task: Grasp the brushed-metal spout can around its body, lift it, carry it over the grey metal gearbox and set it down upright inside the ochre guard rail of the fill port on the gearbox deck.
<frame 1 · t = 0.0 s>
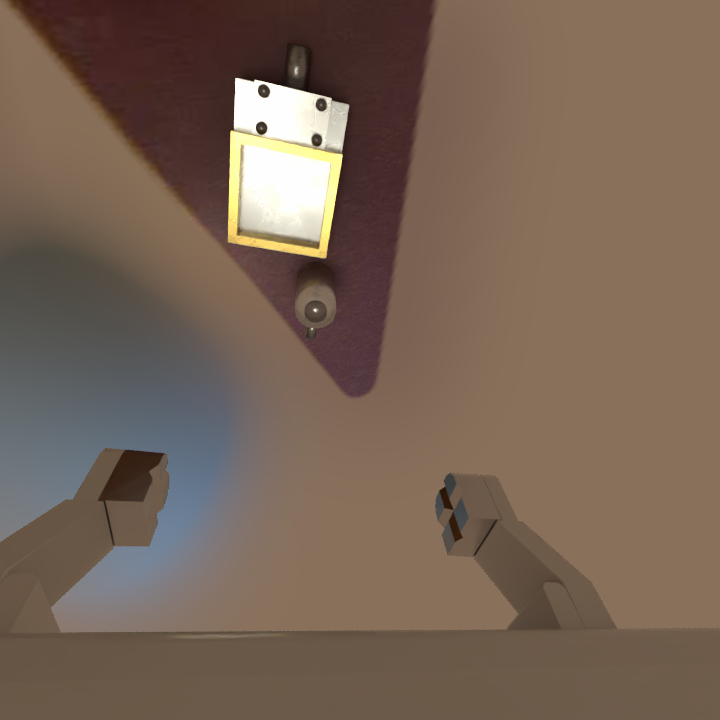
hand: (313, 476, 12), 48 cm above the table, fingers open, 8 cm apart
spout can: (315, 279, 59), on the table
gearbox: (287, 173, 51), on the table
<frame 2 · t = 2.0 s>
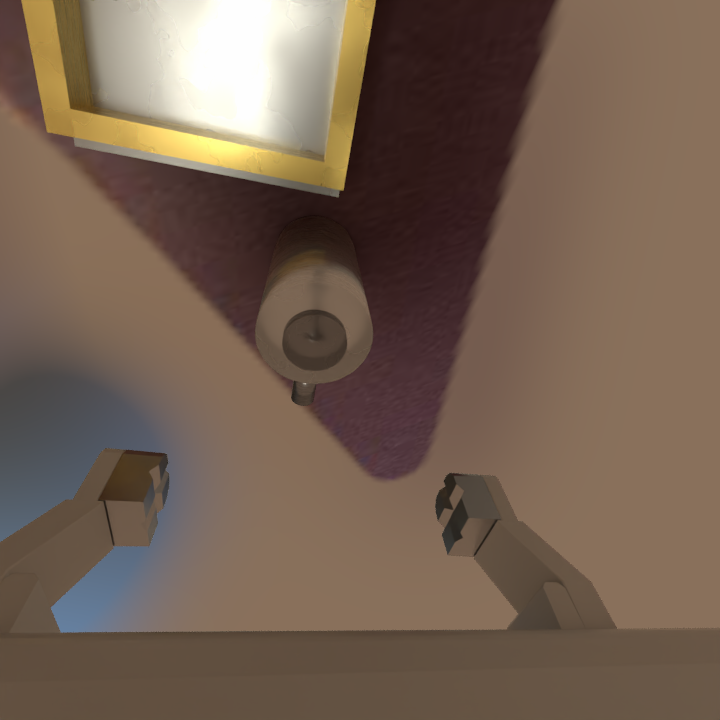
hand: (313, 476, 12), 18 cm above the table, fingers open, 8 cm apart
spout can: (315, 256, 26), on the table
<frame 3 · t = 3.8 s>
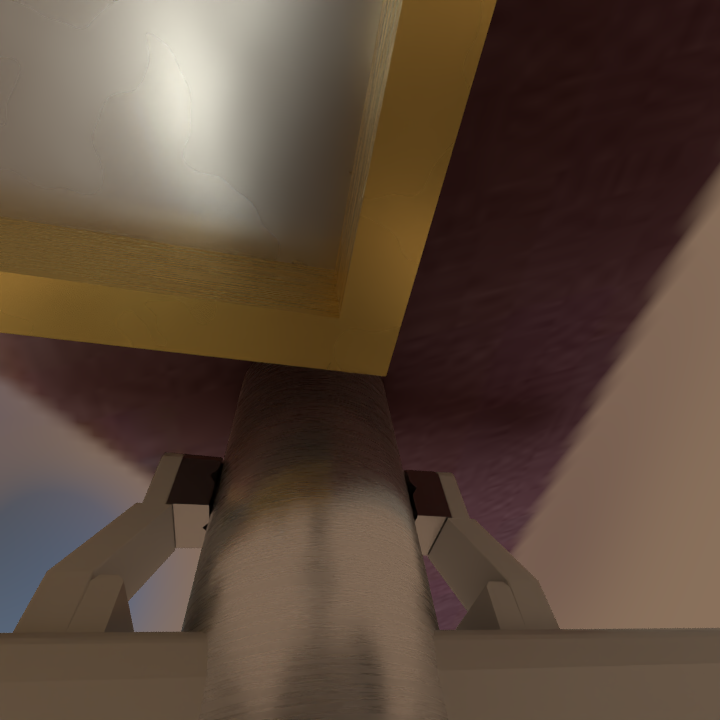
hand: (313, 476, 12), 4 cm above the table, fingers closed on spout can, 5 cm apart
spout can: (314, 398, 15), on the table, touching gripper
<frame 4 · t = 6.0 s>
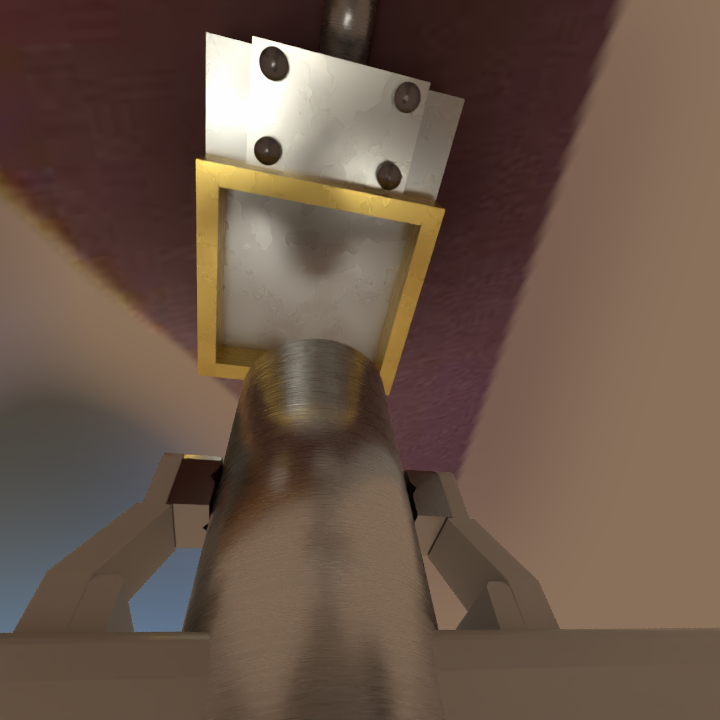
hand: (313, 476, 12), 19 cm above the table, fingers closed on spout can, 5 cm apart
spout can: (314, 399, 15), point 15 cm above the table, touching gripper
gearbox: (315, 232, 26), on the table
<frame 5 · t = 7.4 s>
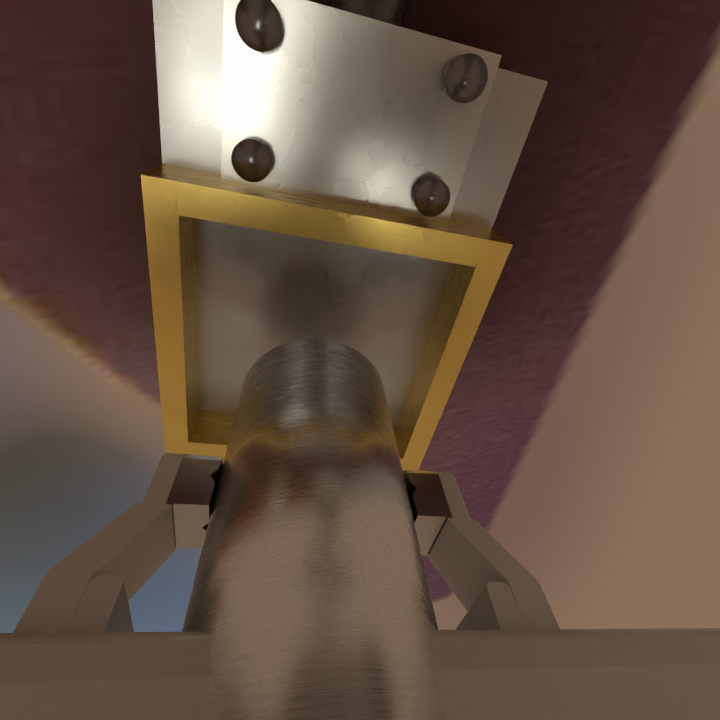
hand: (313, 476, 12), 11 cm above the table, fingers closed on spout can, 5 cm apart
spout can: (314, 399, 15), point 8 cm above the table, touching gripper
gearbox: (322, 261, 20), on the table
when the fingers open (9 cm above the table, at t = 8.4 s): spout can drops 1 cm, resting on gearbox.
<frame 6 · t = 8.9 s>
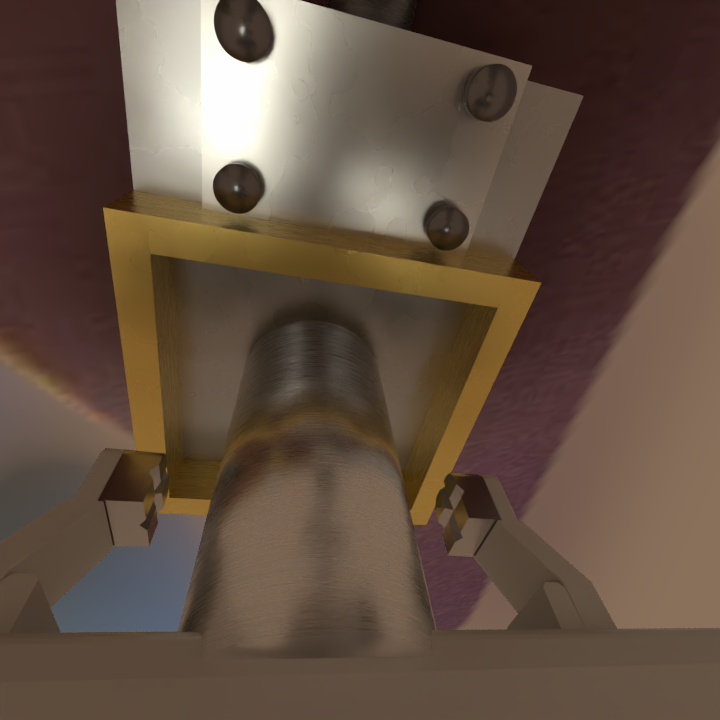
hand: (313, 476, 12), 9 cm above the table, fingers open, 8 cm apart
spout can: (312, 379, 16), point 4 cm above the table, touching gearbox
gearbox: (320, 291, 18), on the table
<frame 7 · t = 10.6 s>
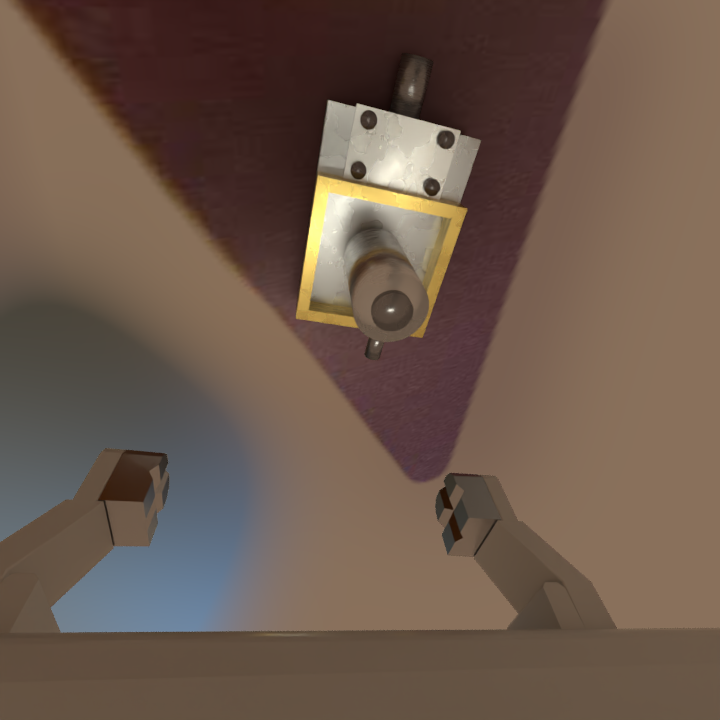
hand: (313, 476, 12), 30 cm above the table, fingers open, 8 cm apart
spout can: (373, 258, 36), point 4 cm above the table, touching gearbox
gearbox: (373, 223, 38), on the table
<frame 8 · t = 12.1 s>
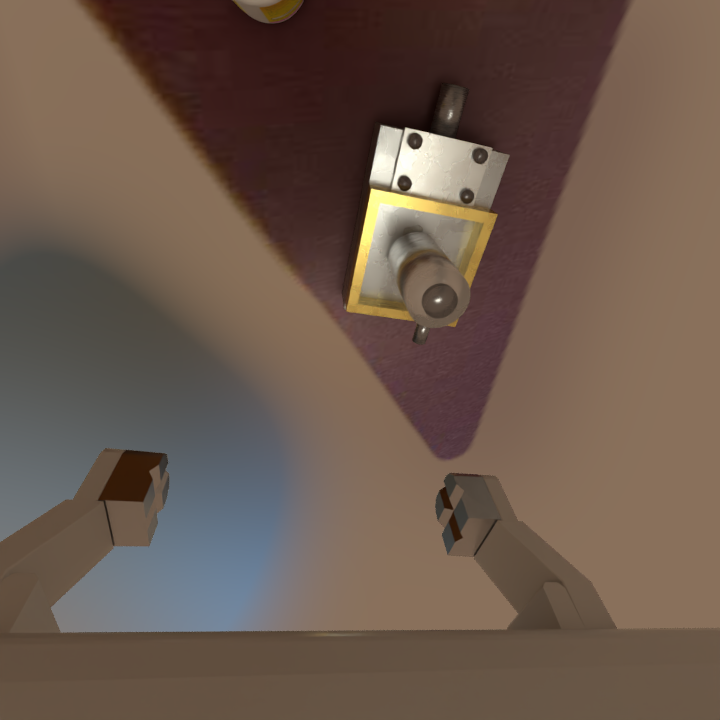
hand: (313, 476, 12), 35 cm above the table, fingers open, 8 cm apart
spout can: (413, 257, 41), point 4 cm above the table, touching gearbox
gearbox: (411, 227, 43), on the table
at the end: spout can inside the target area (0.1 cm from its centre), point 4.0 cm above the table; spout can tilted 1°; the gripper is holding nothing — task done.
